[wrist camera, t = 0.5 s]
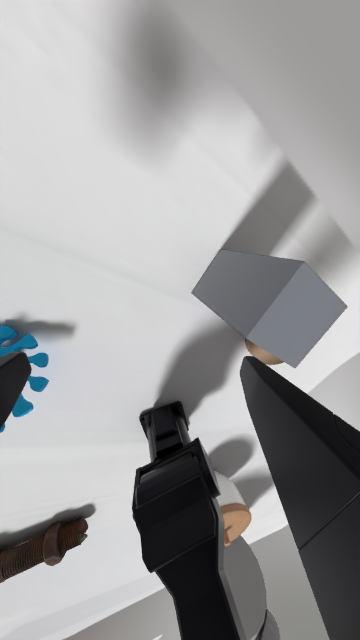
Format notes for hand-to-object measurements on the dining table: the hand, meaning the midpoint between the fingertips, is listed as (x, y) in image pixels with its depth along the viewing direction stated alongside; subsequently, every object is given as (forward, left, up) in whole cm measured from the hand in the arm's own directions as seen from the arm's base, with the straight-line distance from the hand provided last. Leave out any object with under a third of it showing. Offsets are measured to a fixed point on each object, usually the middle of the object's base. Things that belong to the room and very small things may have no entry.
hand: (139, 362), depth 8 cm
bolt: (-37, +26, -16) cm, 48 cm away
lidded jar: (-42, -3, -15) cm, 45 cm away
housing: (-3, -11, -15) cm, 19 cm away
